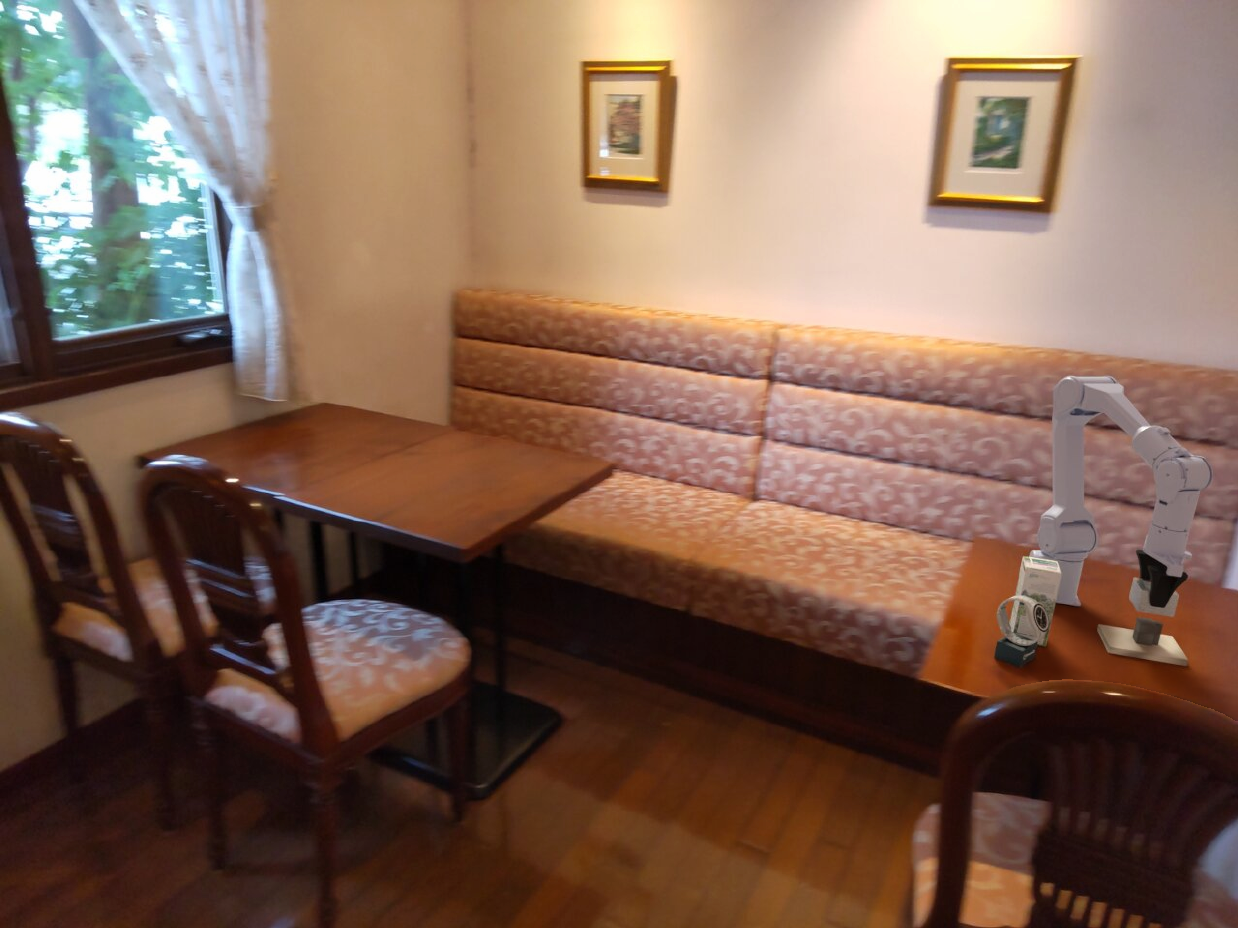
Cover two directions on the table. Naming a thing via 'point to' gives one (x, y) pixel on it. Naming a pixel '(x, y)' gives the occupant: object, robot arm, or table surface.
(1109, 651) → the keyed post base
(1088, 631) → the table surface
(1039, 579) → the syrup box
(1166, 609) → the grey slotted channel block
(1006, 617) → the watch
